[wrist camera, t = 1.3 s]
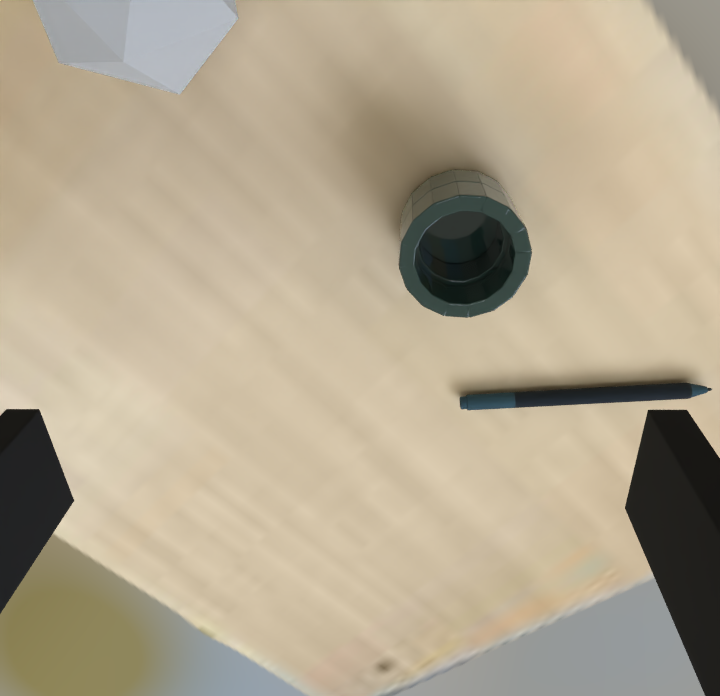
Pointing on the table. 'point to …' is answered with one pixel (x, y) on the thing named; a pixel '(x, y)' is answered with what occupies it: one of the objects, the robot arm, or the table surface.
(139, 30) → the die
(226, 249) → the table surface
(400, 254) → the cup
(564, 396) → the pen
